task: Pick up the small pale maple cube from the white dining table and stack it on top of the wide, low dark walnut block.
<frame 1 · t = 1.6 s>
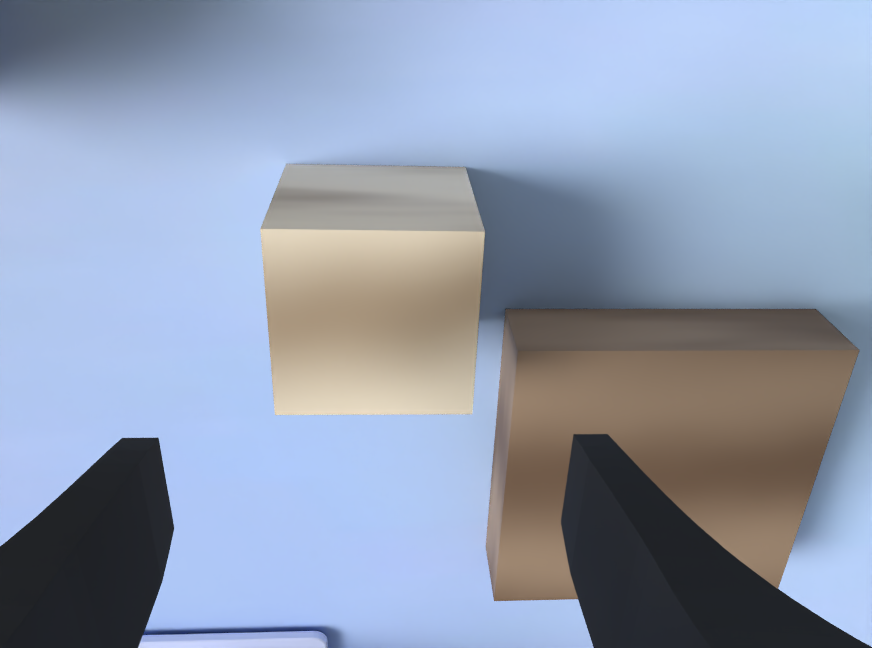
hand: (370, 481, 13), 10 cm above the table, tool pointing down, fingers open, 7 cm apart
maple block: (376, 247, 23), on the table
walnut block: (634, 429, 27), on the table
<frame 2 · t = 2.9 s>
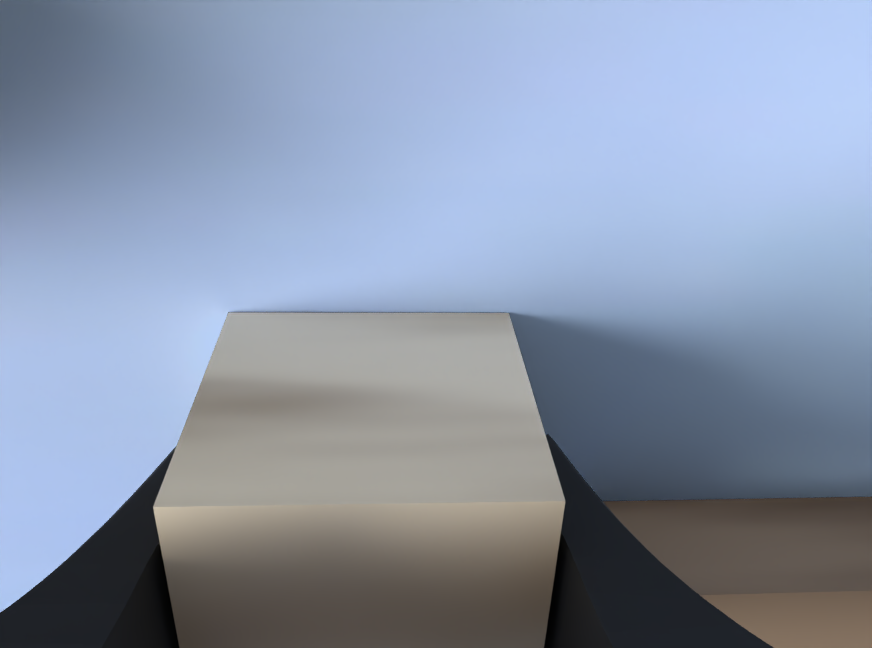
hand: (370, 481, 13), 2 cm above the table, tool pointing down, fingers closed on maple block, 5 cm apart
maple block: (371, 426, 15), on the table, touching gripper
walnut block: (733, 639, 19), on the table
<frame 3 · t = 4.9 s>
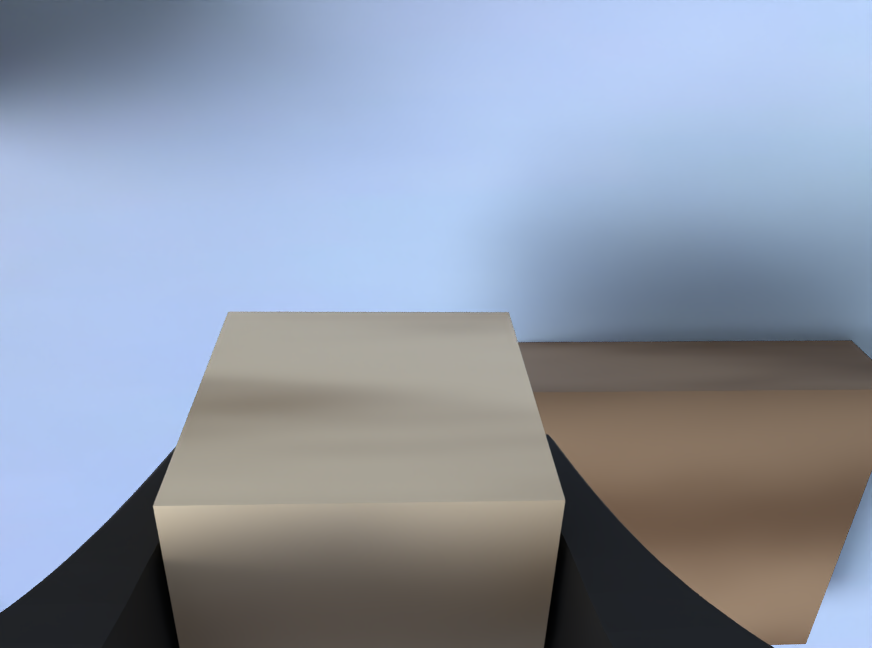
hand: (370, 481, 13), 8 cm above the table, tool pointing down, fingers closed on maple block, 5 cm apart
maple block: (371, 425, 15), point 7 cm above the table, touching gripper
walnut block: (653, 467, 25), on the table
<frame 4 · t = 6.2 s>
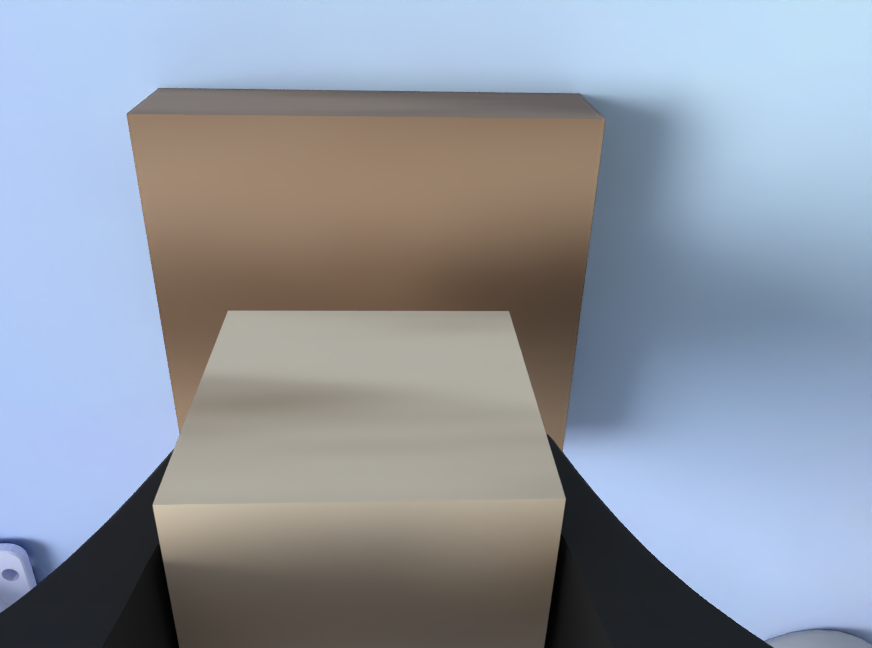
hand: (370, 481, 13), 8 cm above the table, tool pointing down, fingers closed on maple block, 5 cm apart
maple block: (371, 424, 15), point 7 cm above the table, touching gripper
walnut block: (375, 273, 21), on the table
when the fingers open (6 cm above the table, at t = 7.2 s): maple block drops 2 cm, resting on walnut block.
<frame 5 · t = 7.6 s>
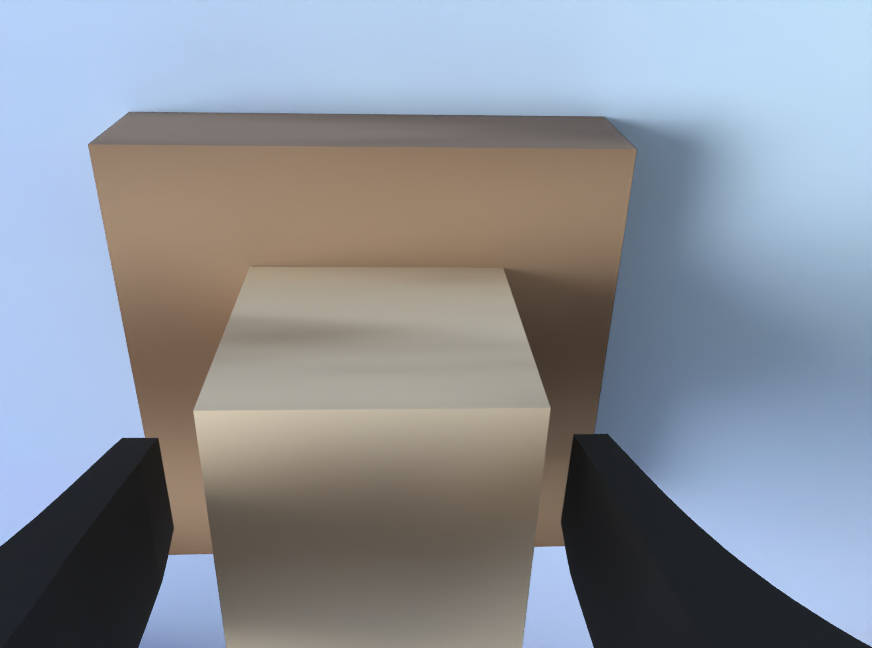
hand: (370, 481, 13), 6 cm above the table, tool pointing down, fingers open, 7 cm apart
maple block: (378, 375, 16), point 2 cm above the table, touching walnut block
walnut block: (374, 312, 19), on the table, touching maple block
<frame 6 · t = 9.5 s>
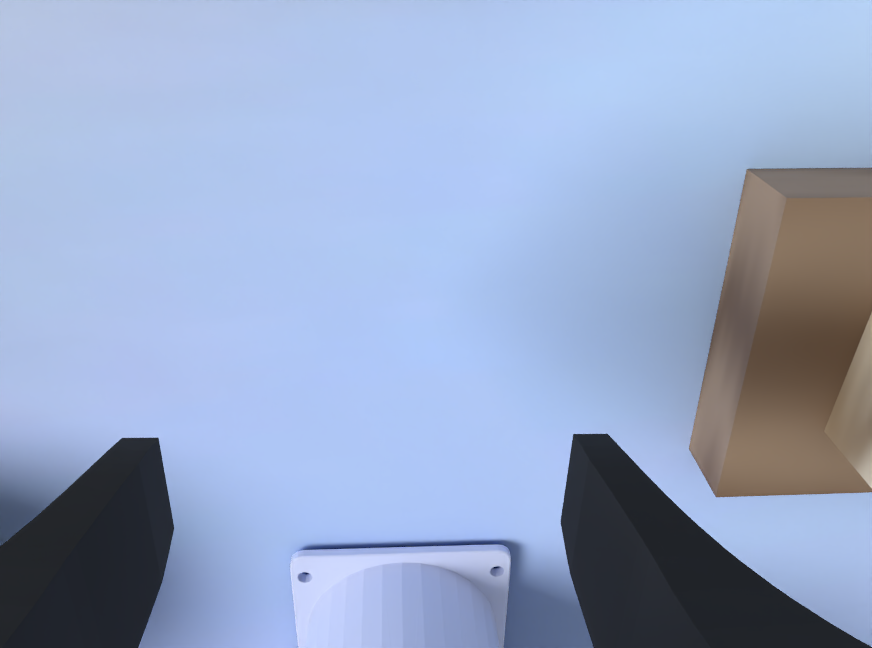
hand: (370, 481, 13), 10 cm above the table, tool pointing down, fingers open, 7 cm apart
walnut block: (859, 312, 25), on the table, touching maple block
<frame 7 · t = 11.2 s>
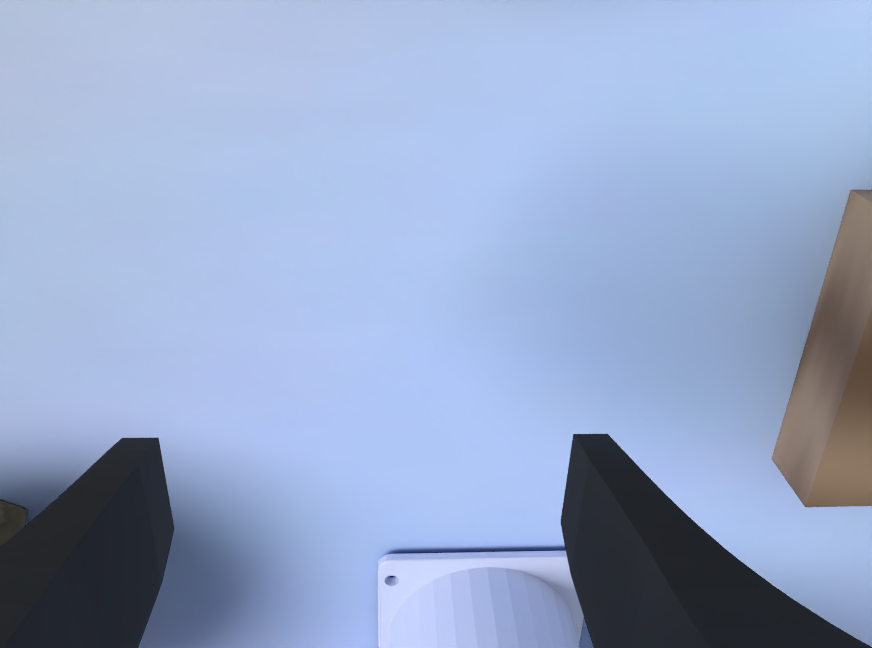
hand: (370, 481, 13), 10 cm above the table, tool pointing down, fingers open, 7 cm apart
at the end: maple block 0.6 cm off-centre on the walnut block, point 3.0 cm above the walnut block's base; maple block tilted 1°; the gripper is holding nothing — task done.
